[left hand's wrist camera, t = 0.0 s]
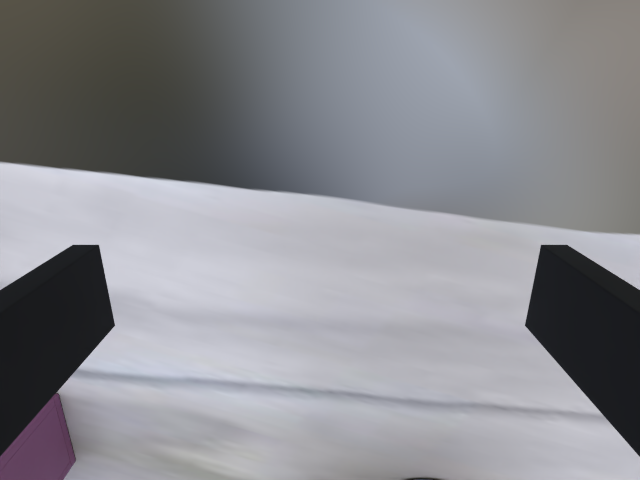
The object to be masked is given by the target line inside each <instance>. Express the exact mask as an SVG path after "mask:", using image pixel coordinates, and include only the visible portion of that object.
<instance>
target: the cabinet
mask: <svg viewBox="0 0 640 480" xmlns="http://www.w3.org/2000/svg"><path fill="white" fill-rule="evenodd" d="M75 461H76V460H75V456H74V452H73V448H72V445H71V441H70V437H69V433H68V429H67V425H66V421H65V418H64V414H63V410H62V406H61V402H60V398H59V394H55V395H54V396H53V397H52V398H51V399H50V400H49V401H48V403H47V404H46V405H45V406H44V407H43V408H42V409H41V411H40V412H39V413H38V414H37V415H36V416H35V417H34V419H33V420H32V421H31V422H30V423H29V424H28V425H27V427H26V428H25V429H24V430H23V431H22V432H21V433H20V435H19V436H18V437H17V438H16V439H15V440H14V441H13V443H12V444H11V445H10V446H9V447H8V448H7V449H6V451H5V452H4V453H3V454H2V455H1V456H0V480H63V479H64V478H65V476H66V475H67V473H68V472H69V470H70V469H71V467H72V466H73V464H74V462H75Z"/></svg>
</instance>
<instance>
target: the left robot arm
mask: <svg viewBox="0 0 640 480" xmlns="http://www.w3.org/2000/svg"><path fill="white" fill-rule="evenodd" d="M114 326H115V324H114V319H113V314H112V309H111V304H110V299H109V294H108V289H107V284H106V279H105V274H104V269H103V264H102V259H101V254H100V249H99V245H72V246H71V247H69V248H67V249H66V250H64V251H63V252H61V253H59V254H58V255H56V256H54V257H53V258H51V259H50V260H48V261H46V262H45V263H43V264H42V265H40V266H38V267H37V268H35V269H34V270H32V271H30V272H29V273H27V274H26V275H24V276H22V277H21V278H19V279H18V280H16V281H14V282H13V283H11V284H10V285H8V286H6V287H5V288H3V289H2V290H0V456H1V455H2V454H3V453H4V452H5V451H6V449H7V448H8V447H9V446H10V445H11V444H12V443H13V441H14V440H15V439H16V438H17V437H18V436H19V435H20V433H21V432H22V431H23V430H24V429H25V428H26V427H27V425H28V424H29V423H30V422H31V421H32V420H33V419H34V417H35V416H36V415H37V414H38V413H39V412H40V411H41V409H42V408H43V407H44V406H45V405H46V404H47V403H48V401H49V400H50V399H51V398H52V397H53V396H54V395H55V393H56V392H57V391H58V390H59V389H60V388H61V387H62V385H63V384H64V383H65V382H66V381H67V380H68V379H69V377H70V376H71V375H72V374H73V373H74V372H75V371H76V369H77V368H78V367H79V366H80V365H81V364H82V363H83V361H84V360H85V359H86V358H87V357H88V356H89V355H90V353H91V352H92V351H93V350H94V349H95V348H96V347H97V345H98V344H99V343H100V342H101V341H102V340H103V339H104V337H105V336H106V335H107V334H108V333H109V332H110V331H111V329H112V328H113V327H114ZM525 326H526V327H527V328H528V329H529V331H530V332H531V333H532V334H533V335H534V336H535V337H536V339H537V340H538V341H539V342H540V343H541V344H542V345H543V347H544V348H545V349H546V350H547V351H548V352H549V353H550V355H551V356H552V357H553V358H554V359H555V360H556V361H557V363H558V364H559V365H560V366H561V367H562V368H563V369H564V371H565V372H566V373H567V374H568V375H569V376H570V377H571V379H572V380H573V381H574V382H575V383H576V384H577V385H578V387H579V388H580V389H581V390H582V391H583V392H584V393H585V395H586V396H587V397H588V398H589V399H590V400H591V401H592V403H593V404H594V405H595V406H596V407H597V408H598V409H599V411H600V412H601V413H602V414H603V415H604V416H605V417H606V419H607V420H608V421H609V422H610V423H611V424H612V425H613V427H614V428H615V429H616V430H617V431H618V432H619V433H620V435H621V436H622V437H623V438H624V439H625V440H626V441H627V443H628V444H629V445H630V446H631V447H632V448H633V449H634V451H635V452H636V453H637V454H638V455H639V456H640V290H638V289H637V288H635V287H634V286H632V285H630V284H629V283H627V282H626V281H624V280H622V279H621V278H619V277H618V276H616V275H614V274H613V273H611V272H610V271H608V270H606V269H605V268H603V267H602V266H600V265H598V264H597V263H595V262H594V261H592V260H590V259H589V258H587V257H586V256H584V255H582V254H581V253H579V252H577V251H576V250H574V249H573V248H571V247H569V246H568V245H541V249H540V254H539V259H538V264H537V269H536V274H535V279H534V284H533V289H532V294H531V299H530V304H529V309H528V314H527V319H526V324H525ZM415 480H431V479H415Z"/></svg>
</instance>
